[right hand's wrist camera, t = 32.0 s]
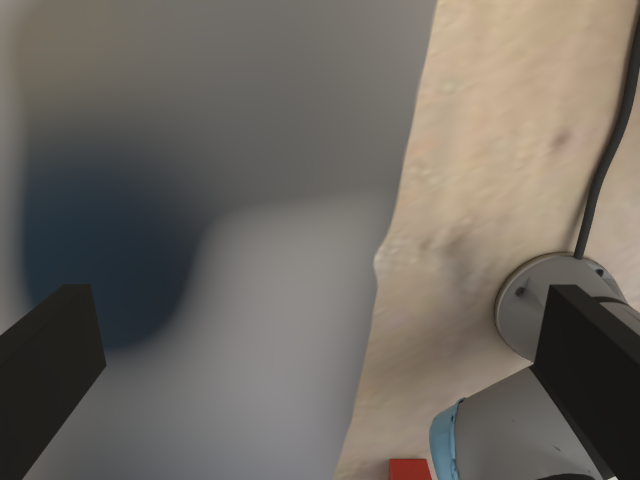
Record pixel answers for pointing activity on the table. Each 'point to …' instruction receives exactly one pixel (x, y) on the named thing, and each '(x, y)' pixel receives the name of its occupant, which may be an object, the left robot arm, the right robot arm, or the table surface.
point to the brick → (409, 469)
